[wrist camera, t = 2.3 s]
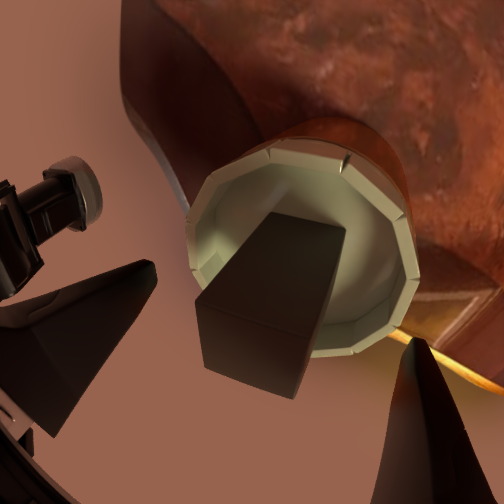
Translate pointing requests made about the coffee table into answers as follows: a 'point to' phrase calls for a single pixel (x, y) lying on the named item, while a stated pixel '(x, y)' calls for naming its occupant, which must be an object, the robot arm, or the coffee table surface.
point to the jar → (324, 211)
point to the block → (270, 303)
